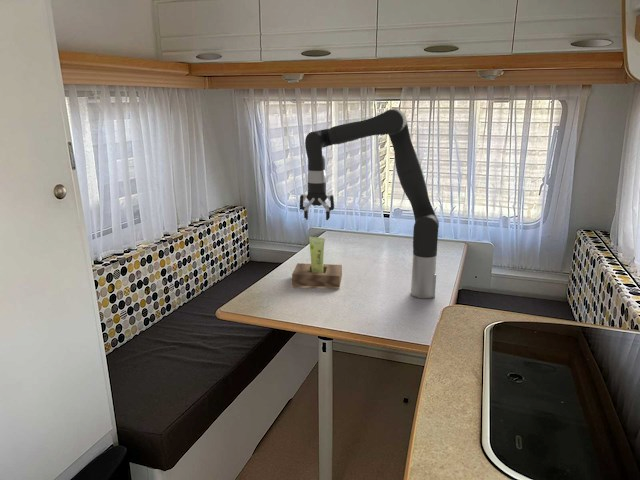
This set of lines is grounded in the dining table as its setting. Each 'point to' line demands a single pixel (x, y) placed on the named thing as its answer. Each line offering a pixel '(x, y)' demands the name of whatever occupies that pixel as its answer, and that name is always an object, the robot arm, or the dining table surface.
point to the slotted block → (317, 277)
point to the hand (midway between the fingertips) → (317, 219)
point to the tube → (317, 254)
